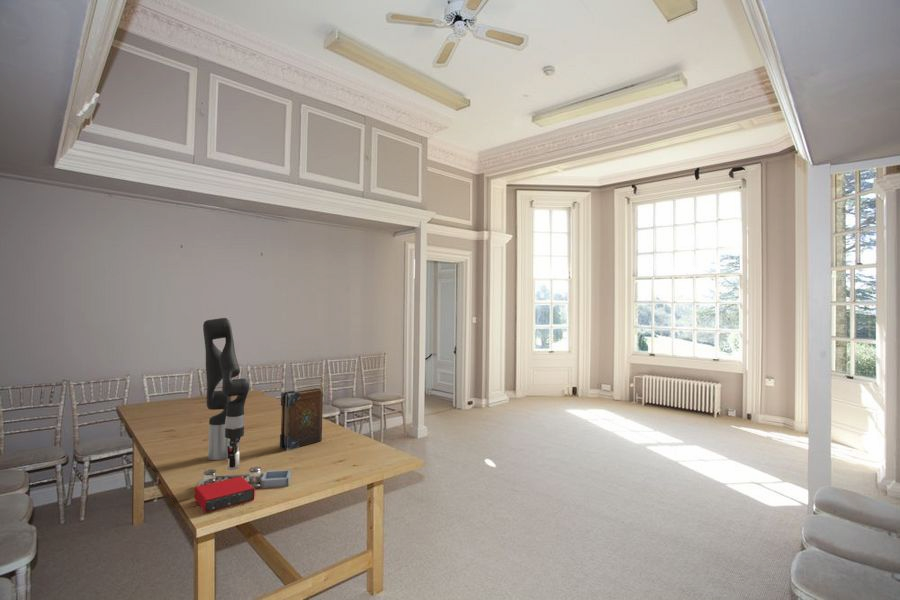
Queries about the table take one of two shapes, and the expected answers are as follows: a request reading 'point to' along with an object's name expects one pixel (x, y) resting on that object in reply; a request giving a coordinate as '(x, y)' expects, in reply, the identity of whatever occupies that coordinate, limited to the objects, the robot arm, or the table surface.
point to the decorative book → (301, 418)
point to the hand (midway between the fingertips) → (233, 464)
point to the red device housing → (224, 494)
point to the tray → (275, 478)
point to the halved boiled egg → (235, 461)
